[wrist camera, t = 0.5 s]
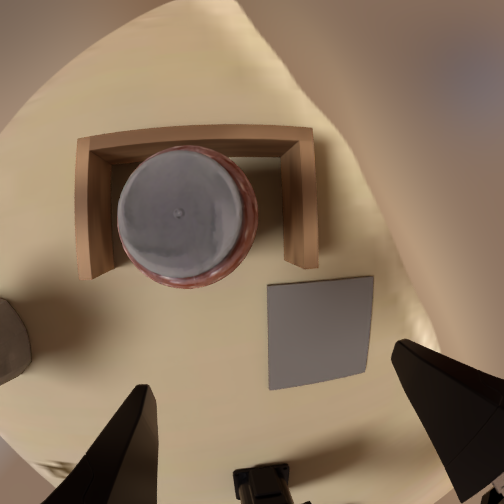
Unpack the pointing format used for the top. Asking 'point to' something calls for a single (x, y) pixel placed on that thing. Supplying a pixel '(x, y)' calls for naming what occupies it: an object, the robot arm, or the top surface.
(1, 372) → the coffeepot
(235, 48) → the top surface
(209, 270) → the supplement bottle
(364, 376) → the top surface
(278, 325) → the mat
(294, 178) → the crate
